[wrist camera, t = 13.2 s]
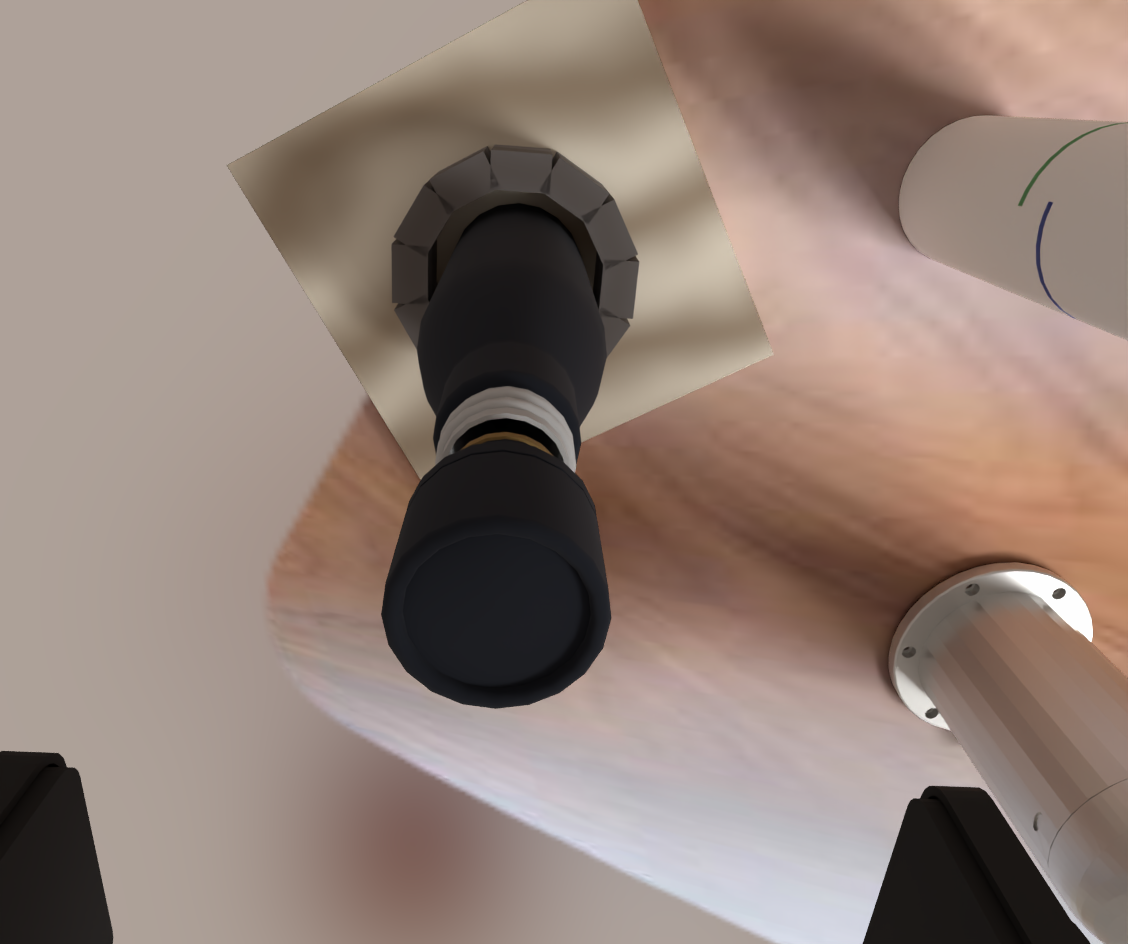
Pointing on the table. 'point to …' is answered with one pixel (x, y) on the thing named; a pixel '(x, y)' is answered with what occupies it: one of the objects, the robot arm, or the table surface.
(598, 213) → the bottle stand
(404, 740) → the table surface
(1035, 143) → the cylindrical container
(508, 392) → the wine bottle
